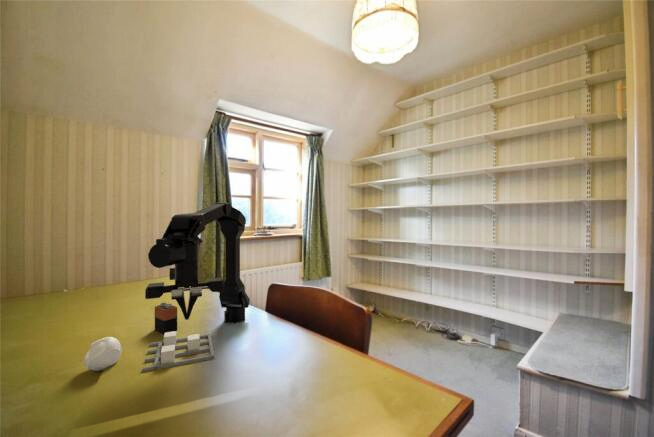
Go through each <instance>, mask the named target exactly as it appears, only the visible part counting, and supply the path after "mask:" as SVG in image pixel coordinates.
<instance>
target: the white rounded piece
mask: <svg viewBox="0 0 654 437" xmlns="http://www.w3.org/2000/svg"><path fill="white" fill-rule="evenodd" d="M90 347H91V348H89V350H88V351H87V353H85V355H84V361H83V365H84V366H85V367H86V368H87V369H88V370H90V371H94V372H95V371H96V372H98V371H99V372H100V371H103V370H105V369H106V368H108V367H111V366H112V365H114V364H116V363H117V362H118V361H119V360H120V359H119V358H121V354H122V344H121V343H120V341H119V340H118V339H117V338H116V337H113V336H106V337H103V338H100V339H98V340H95V341H93V342H92V343H90Z"/></svg>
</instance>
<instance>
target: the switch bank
mask: <svg viewBox="0 0 654 437" xmlns="http://www.w3.org/2000/svg"><path fill="white" fill-rule="evenodd" d="M199 337H200V339H205V338H207V340H205V341H200V346H203V345H208V347H203V348H200V349H198V350H192V351H188V350H187V351H181V352H175V358H177V357H183V356H189V355H195V354H200V353H201V354H202V353H207V352H209V354H210V355H204V356H198V357H193V358H188V359H182V360H177V361H176V360H175V362H170V363H165V364H161V363H160V362H159V361H161V350H162V347H163V346H164V340H163V341H154V342H150V343H149V344H148V345H149V347H155V346H156V347H157V348H155V349H149V350H146V351H147V352H146V355H150V354H155V356H153V357H146V358H144V363H149V362H154V363H153V365H149V366H145V367H142V368H141V372H142V373H143V372H148V371H155V370H160V369H164V368H171V367H175V366H181V365H186V364H190V363H196V362H201V361H202V362H203V361H207V360H212V359H215V351H214V346H213V340H212V336H211V333H206V334H199ZM181 342H188V336H186V337H181V338H176V343H181ZM149 347H148V348H149ZM180 349H188V343H185V344H179V345H176V346H175V350H180ZM159 363H160V364H159Z"/></svg>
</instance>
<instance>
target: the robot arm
mask: <svg viewBox="0 0 654 437" xmlns="http://www.w3.org/2000/svg"><path fill="white" fill-rule="evenodd" d="M213 222H217V223H218V224H219V226H220V227H219V229H220V232H221V235H223V237H224V239H225V241H224V242H225V243H224V244H225V246H224V248H225V255H224V256H225V257H224V258H225V260H224V261H225V263H224V264H225V273H224V274H225V276H224V278H225V280H223V278H221V277H211V278H207V281H203V282H199V244H202V243H203V239H202V238H200V237H199V236H200V235H201V234H202V233H203V232H204V231H205V230H206V226H207V225H209V224H211V223H213ZM246 224H247V219H246V216H245V215H244V213H242V211H241V210H239V209H237V208H235V207H233V205H232V204H231V203H229V202H215V203H213V204H211V205H209V206H206V207H205V208H202V209H200V210H197V211H195V212H189V213H181V214H180V213H179V214H174V215H173V216H172V217H171V220H170V222H169V223H168V225H167V228H166V230H165V231H164V232H163V235H162V237H161V238H157V239H155V244H154V245H152V247H151V248H150V249H149V252H148V255H147V256H148V257H147V258H148V261H149V263H150V264H151V266H153V267H154V268H157V269H162V268H165V267H169V266H170V267H169V281H174V284H171V285H170V284H167V285H165V282H163V281H162V282H154V283H153V282H151V283H148V285H147V286H146V288H145V292H144V293H145V295H144V296H145V297H144V298H145V300H150V299H151V300H153V299H160V298H161V297H162V296H163V295H164V294H168V293H170V295H171V297H170V298H171V300H173V301H174V300H175V301H176V302H177V305H178V306H179V308H180V310H181V312H182V315H183V318H184V320H186V321H188V320H189V319H190V317H191V314H192V310H193V309H194V306H195V303H197V300H198V298H199V297H200V298H201V297H203V292H202V291H203V290H205V289H207V290H208V289H209V291H210V292H212V293H218V292H219V295H218V298H219V302H220V307H221V308H222V309H223V308H225V310H224V311H223V313H224V314H223V320H224V324H238V323H239V324H240V323H241V322H244V321H246V309H247V308H249V306H250V302H251V301H250V300H251V299H250V298H249V295H248V294H247V293H246V286H245V284H244V282H243V280H242V279H241V267H240V266H241V261H240V260H241V237H242V235H243V234H244V232H245V228H246ZM171 266H174V267H171ZM188 291H189V294H188V302H187V303H188V304H186V298H185V292H188ZM186 305H187V306H186Z"/></svg>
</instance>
